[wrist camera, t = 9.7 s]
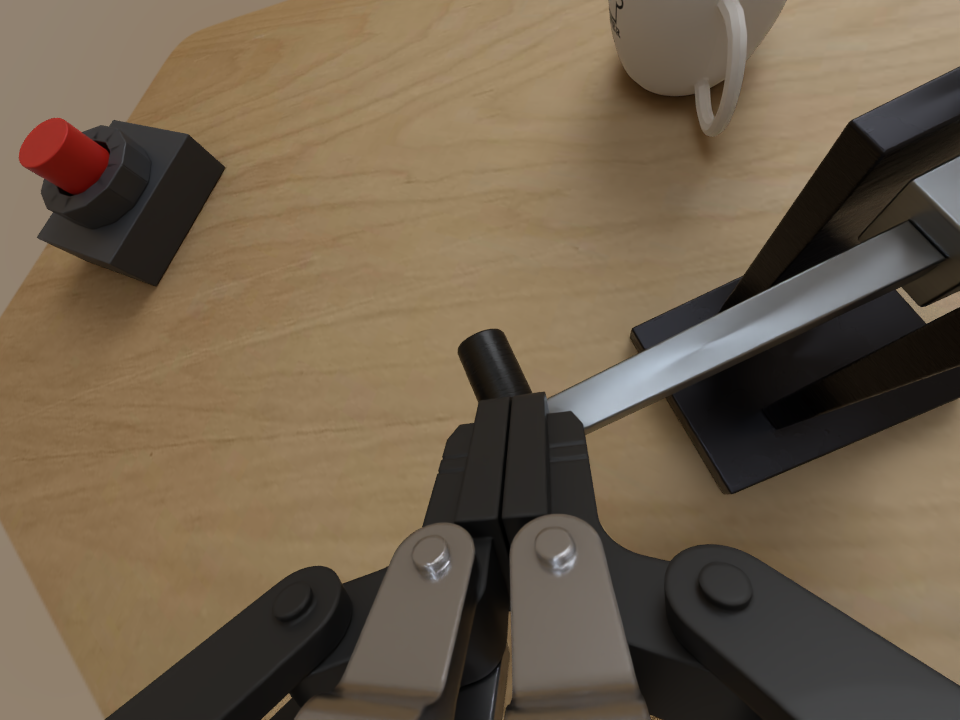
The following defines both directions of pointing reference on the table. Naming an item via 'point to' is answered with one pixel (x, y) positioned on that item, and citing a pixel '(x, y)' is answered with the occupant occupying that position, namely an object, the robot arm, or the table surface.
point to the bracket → (841, 341)
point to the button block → (133, 201)
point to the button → (63, 156)
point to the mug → (691, 47)
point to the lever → (761, 309)
